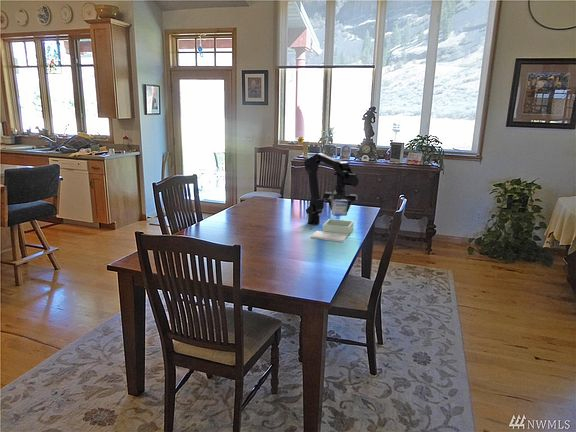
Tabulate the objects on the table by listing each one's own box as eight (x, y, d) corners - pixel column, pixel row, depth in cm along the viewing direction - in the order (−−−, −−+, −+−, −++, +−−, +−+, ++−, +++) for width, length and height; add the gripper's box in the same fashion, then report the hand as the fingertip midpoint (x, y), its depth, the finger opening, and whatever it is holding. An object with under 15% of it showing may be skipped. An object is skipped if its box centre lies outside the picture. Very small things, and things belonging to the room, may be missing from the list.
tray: (310, 237, 222) (310, 236, 221) (316, 232, 232) (316, 230, 232) (343, 242, 216) (343, 240, 216) (347, 236, 226) (347, 234, 226)
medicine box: (334, 216, 230) (335, 201, 227) (331, 214, 234) (332, 199, 231) (347, 215, 232) (348, 200, 229) (344, 213, 236) (345, 199, 234)
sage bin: (322, 232, 231) (323, 224, 230) (328, 226, 244) (329, 218, 242) (348, 236, 227) (349, 227, 225) (353, 229, 239) (353, 221, 238)
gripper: (321, 185, 224) (319, 212, 228) (355, 188, 218) (353, 216, 222) (326, 181, 234) (324, 208, 238) (358, 184, 228) (356, 211, 232)
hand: (339, 211), depth 232 cm, fingers closed on medicine box, 9 cm apart
